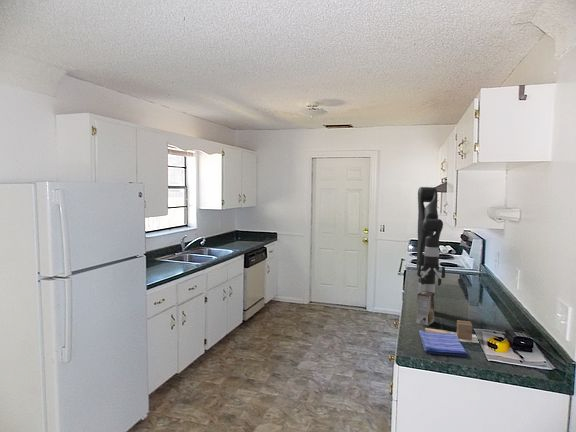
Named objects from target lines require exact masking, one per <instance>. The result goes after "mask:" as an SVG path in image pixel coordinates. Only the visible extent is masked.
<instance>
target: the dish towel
mask: <svg viewBox="0 0 576 432" xmlns="http://www.w3.org/2000/svg"><path fill="white" fill-rule="evenodd" d="M418 333H419V337H420V339H421V343H422V346H423V349H424V351H425V352H426V354H428V355H429V354H430V355H431V354H432V355H441V356H442V355H443V356H454V357H467V356H468V355H469V354H468V352H467V351H466V349H465V347H464V346H463V344H462V342H461V341H459V340H458V338H457V336H456V334H450V332H449V333H432V332H427V331H425V330H421V329H419V331H418Z"/></svg>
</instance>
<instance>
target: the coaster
mask: <svg viewBox="0 0 576 432" xmlns="http://www.w3.org/2000/svg"><path fill="white" fill-rule="evenodd" d="M424 331H427V332H432V333H449V334H450V331H449V330H447V329H446V330H444V329H439V328H438V329H437V328H429V327H428V328H427V327H424Z"/></svg>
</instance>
